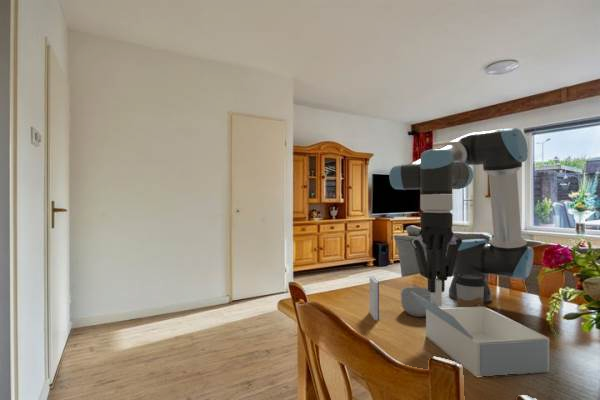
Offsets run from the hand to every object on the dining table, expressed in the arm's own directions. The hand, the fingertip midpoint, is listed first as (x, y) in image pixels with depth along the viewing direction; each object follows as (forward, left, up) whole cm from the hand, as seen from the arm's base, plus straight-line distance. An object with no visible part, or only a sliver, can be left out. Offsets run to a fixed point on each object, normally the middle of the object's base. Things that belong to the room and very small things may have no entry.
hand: (436, 304), depth 83 cm
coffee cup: (-22, -19, -13) cm, 32 cm away
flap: (-3, 0, -5) cm, 6 cm away
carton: (-12, 0, -13) cm, 18 cm away
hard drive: (+6, -29, -13) cm, 32 cm away
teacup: (-10, -31, -13) cm, 35 cm away
